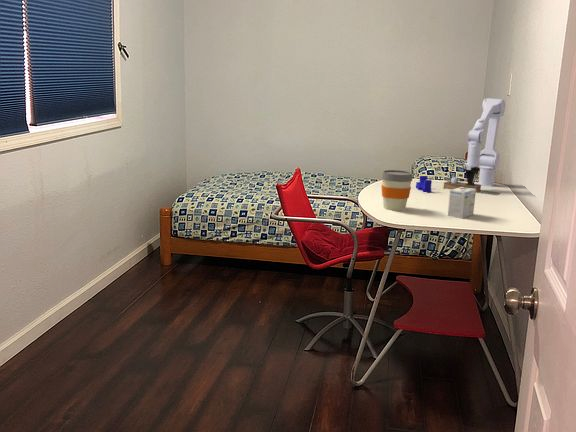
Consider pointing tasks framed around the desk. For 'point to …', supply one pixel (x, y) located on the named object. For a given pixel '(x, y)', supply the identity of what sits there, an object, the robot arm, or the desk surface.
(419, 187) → the blue stepped block
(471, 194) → the light bulb box
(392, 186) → the reusable coffee cup
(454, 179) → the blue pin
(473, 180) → the steel pin
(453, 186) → the walnut hole block
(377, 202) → the desk surface
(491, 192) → the rubber mat
